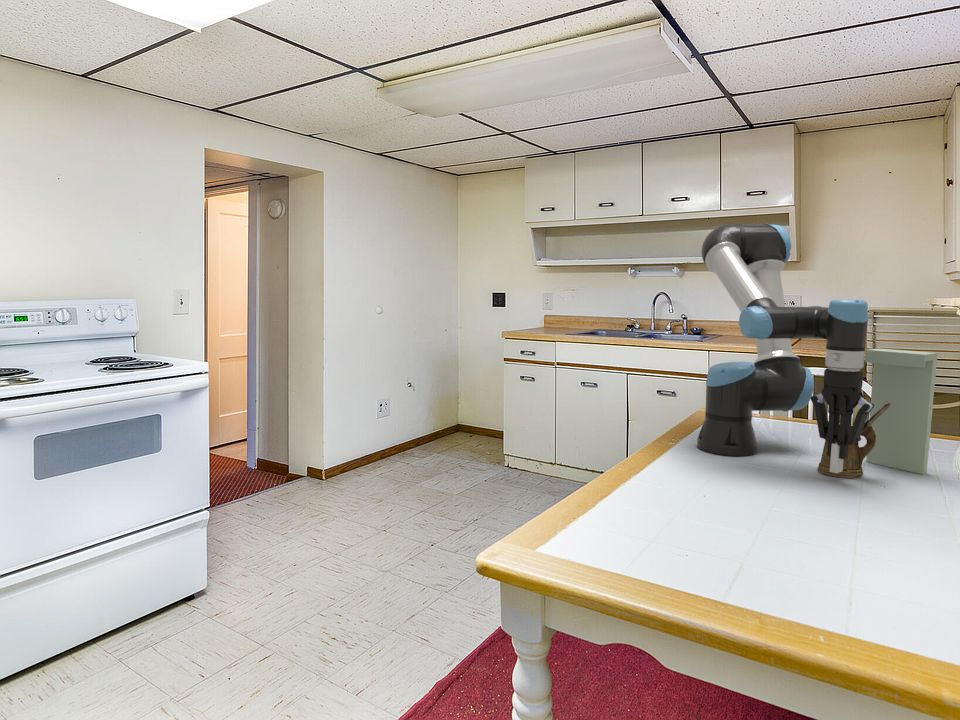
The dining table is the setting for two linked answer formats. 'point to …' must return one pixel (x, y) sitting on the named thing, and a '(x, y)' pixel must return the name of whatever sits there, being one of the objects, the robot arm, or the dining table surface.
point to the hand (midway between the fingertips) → (836, 471)
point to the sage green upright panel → (902, 407)
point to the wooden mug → (853, 451)
